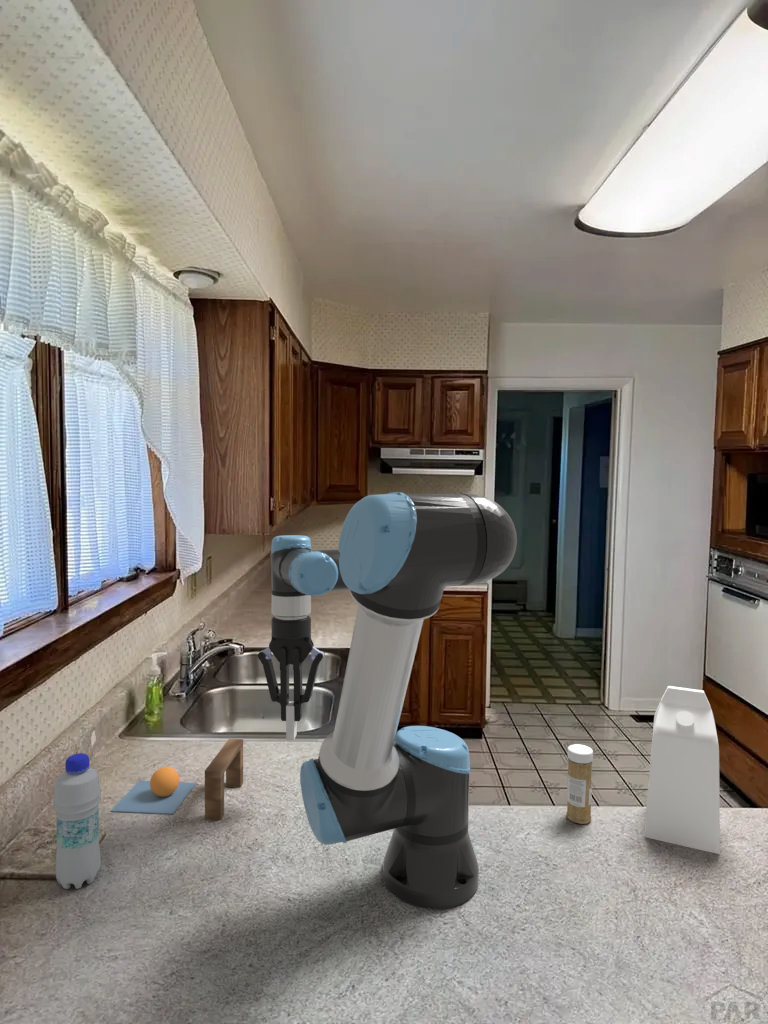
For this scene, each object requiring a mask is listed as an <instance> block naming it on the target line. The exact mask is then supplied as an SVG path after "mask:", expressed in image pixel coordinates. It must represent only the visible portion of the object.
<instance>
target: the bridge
mask: <svg viewBox="0 0 768 1024" xmlns="http://www.w3.org/2000/svg"><path fill="white" fill-rule="evenodd" d="M243 784H244V739H241V738H228V739H227V741H225V743H224V744H223V746H222V747H221V748H220V750H219V752H218V753H217V754H216V755H215V757H214V758H213V759H212V760H211V762H210V763H209V764H208V766H207V767H206V768H205V770H204V820H205V821H207V820H208V821H209V820H210V821H221V820H222V819H223V817H224V816H225V787H226V788H241V787H242V785H243Z"/></svg>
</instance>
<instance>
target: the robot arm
mask: <svg viewBox="0 0 768 1024" xmlns="http://www.w3.org/2000/svg"><path fill="white" fill-rule="evenodd" d="M515 526H516V525H515V524H514V522H513V520H512V517H510V515H509V513H508V512H507V511H506V510H505V509H504V508H503V506H501V505H500V504H499V503H497V502H496V501H494V500H492V499H490V498H488V497H487V496H486V497H485V496H483V495H479V494H475V493H474V494H473V493H404V492H402V491H399V492H398V491H393V492H392V491H391V492H388V493H384V494H369V495H366V496H364V497H363V498H361V499H360V500H358V501H357V502H355V503H354V505H353V506H352V507H351V508H350V510H349V511H348V513H347V515H346V516H345V518H344V522H343V524H342V528H341V530H340V537H339V541H338V548H337V549H335V548H334V549H312V542H311V537H309V536H307V535H296V534H295V535H294V534H291V535H288V534H287V535H277V536H274V537H273V538H272V540H271V551H270V557H271V558H270V559H271V563H270V564H271V565H270V567H271V568H270V570H271V604H270V605H271V615H273V617H272V618H271V640H270V641H269V644H268V647H267V648H265V649H261V651H259V652H258V653H257V658H258V659H259V661H260V662H261V664H262V667H263V672H264V676H265V679H266V683H267V687H268V688H267V689H268V692H269V696H270V701H272V702H273V703H274V702H275V703H276V702H277V703H279V705H280V720H281V721H282V722H285V736H286V737H285V740H286V741H288V740H289V741H294V740H295V739H296V738H297V737H296V736H297V734H298V732H297V729H298V728H297V727H298V723H297V722H301V720H302V716H303V704H304V703H309V701H310V699H311V698H312V695H313V691H314V688H315V687H314V686H315V682H316V679H317V675H318V671H319V666H320V663H321V661H322V660H323V659H324V657H325V651H324V650H319V649H318V648H316V647H314V646H315V645H314V644H315V643H314V642H313V640H312V617H310V614H312V613H311V612H312V597H313V596H314V597H320V596H321V597H322V596H323V595H326V594H328V593H329V592H340V591H341V592H342V591H349V594H350V596H351V598H352V600H353V601H354V602H355V603H356V604H357V611H356V615H355V620H354V621H355V622H354V626H353V629H352V636H351V641H350V647H349V652H348V657H347V663H346V667H345V671H344V678H343V684H342V689H341V694H340V699H339V704H338V710H337V715H336V720H335V724H334V725H335V726H334V731H333V732H330V733H329V734H328V735H327V736H326V737H325V738H324V739H323V741H322V742H321V745H320V748H319V752H318V758H315V759H314V758H310V759H309V760H307V761H304V762H302V764H301V767H300V775H299V776H300V777H299V779H300V781H299V782H300V788H301V789H300V791H301V795H302V800H303V801H302V802H303V805H304V806H303V807H304V809H305V810H304V811H305V814H306V817H307V818H306V819H307V821H308V825H309V826H310V829H311V831H312V833H313V836H314V837H315V839H316V840H317V841H318V842H319V843H321V844H323V845H324V846H329V845H334V844H339V843H343V844H346V843H348V842H350V841H354V840H357V839H360V838H361V839H362V838H365V837H369V836H373V835H376V834H379V833H383V832H387V831H390V830H391V831H392V830H393V832H392V834H391V838H390V840H389V843H388V846H387V849H386V852H385V854H384V857H383V863H382V865H383V866H382V878H383V883H384V886H385V887H386V889H387V890H388V891H389V893H390V894H391V895H392V896H393V897H395V898H396V899H398V900H399V901H401V902H403V903H405V904H408V905H411V906H413V907H416V908H422V909H432V910H441V909H442V910H443V909H449V908H452V907H456V906H459V905H461V904H463V903H465V902H466V901H468V900H470V899H471V898H472V897H473V896H474V895H475V893H476V892H477V890H478V888H479V877H480V876H479V875H480V873H479V871H480V869H479V863H478V860H477V856H476V853H475V850H474V846H473V843H472V840H471V837H470V834H469V833H470V832H469V812H470V811H469V810H470V809H469V806H470V773H471V770H472V769H471V764H470V750H469V749H470V748H469V747H468V745H467V743H466V742H465V741H464V739H462V738H461V737H460V736H459V735H457V734H455V733H453V732H451V731H448V730H446V729H441V728H437V727H434V726H427V725H409V726H404V727H402V728H400V729H399V730H398V726H399V723H400V720H401V714H402V711H403V707H404V701H405V699H406V698H405V697H406V693H407V689H408V685H409V682H410V678H411V674H412V669H413V665H414V661H415V656H416V652H417V650H418V646H419V645H418V644H419V640H420V636H421V633H422V629H423V625H424V620H427V619H429V618H431V617H432V616H434V615H435V614H436V613H437V612H438V611H439V608H440V605H441V601H442V597H443V594H444V590H445V589H446V588H447V587H458V586H460V587H461V586H468V585H469V586H470V585H477V584H481V583H484V582H487V581H490V580H492V579H495V578H496V577H498V576H500V575H501V574H502V573H503V572H504V571H506V569H507V568H508V567H509V566H510V564H511V562H512V561H513V558H514V557H515V554H516V550H517V544H518V537H517V535H518V533H517V530H516V528H515ZM309 654H311V656H310V655H309ZM273 656H274V657H275V658H276V660H277V662H278V663H279V670H280V671H279V673H280V674H279V677H280V682H279V683H280V685H279V684H278V681H277V676H276V672H275V669H274V663H273V660H272V657H273ZM308 656H310V659H311V661H312V663H311V665H310V669H309V671H308V672H309V673H308V676H307V681H306V684H305V689H304V693H303V665H304V662H305V660H306V659H307V657H308ZM290 665H291V666H292V670H293V701H289V700H290V698H291V696H290ZM279 687H280V688H279Z"/></svg>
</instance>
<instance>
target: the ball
mask: <svg viewBox="0 0 768 1024" xmlns="http://www.w3.org/2000/svg"><path fill="white" fill-rule="evenodd" d="M149 781H150V788H151V790H152V792H153V793H154V794H155V795H157V796H160V797H166V796H169V795H171V794H172V793H173V792H174V791H175V790H176V789H177V787H178V785H179V782H180V776H179V773H178V771H177V770H176V769H175V768H173V767H171V766H163V767H160V768H158V769H156V770H155V771H154V772H153V773H152V775H151V778H150V780H149Z"/></svg>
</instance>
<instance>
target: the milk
mask: <svg viewBox="0 0 768 1024" xmlns="http://www.w3.org/2000/svg"><path fill="white" fill-rule="evenodd" d="M660 699H661V700H660V701H659V703H658V706H657V708H656V710H655V712H654V716H653V727H652V738H651V750H650V761H649V770H648V771H649V774H648V785H647V786H648V787H647V795H646V807H645V808H646V809H645V820H644V821H645V822H644V832H643V833H644V834H643V838H647V839H651V840H655V841H661V842H665V843H668V844H674V845H678V846H682V847H687V848H690V849H695V850H700V851H703V852H708V853H713V854H717V855H721V838H720V837H721V836H720V835H721V832H720V831H721V829H720V828H721V823H720V821H721V819H720V818H721V816H720V815H721V814H720V748H719V747H720V746H719V738H718V734H717V733H718V732H717V726H716V721H715V717H714V712H713V710H712V707H711V704H710V702H709V700H708V697H707V695H706V692H705V690H704V689H703V690H702V689H696V688H695V689H694V688H690V687H688V688H687V687H680V686H673V685H668V686H667V687H666V689H665V691H664V692H663V694H662V697H661V698H660Z"/></svg>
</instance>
